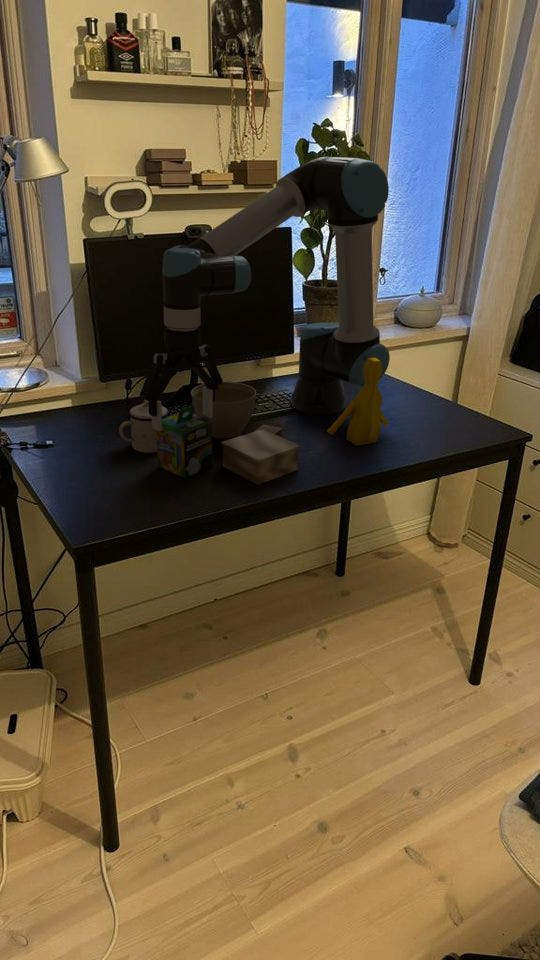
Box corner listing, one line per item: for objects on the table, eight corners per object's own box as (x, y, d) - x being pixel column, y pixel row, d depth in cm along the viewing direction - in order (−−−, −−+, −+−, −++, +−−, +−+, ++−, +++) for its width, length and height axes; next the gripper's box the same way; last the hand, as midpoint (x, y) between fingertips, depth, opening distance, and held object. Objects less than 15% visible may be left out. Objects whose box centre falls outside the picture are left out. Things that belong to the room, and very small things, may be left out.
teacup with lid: (159, 436, 181) (158, 391, 176) (175, 449, 174) (174, 403, 169) (113, 445, 175) (110, 399, 170) (128, 459, 168) (125, 411, 163)
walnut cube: (263, 443, 179) (263, 424, 177) (281, 447, 177) (282, 428, 175) (253, 450, 175) (254, 430, 173) (272, 454, 173) (273, 435, 171)
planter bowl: (238, 417, 194) (239, 378, 190) (266, 438, 182) (267, 397, 177) (182, 426, 187) (181, 385, 183) (207, 449, 175) (206, 406, 170)
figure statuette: (381, 431, 188) (390, 348, 179) (399, 442, 182) (409, 357, 172) (322, 441, 181) (328, 355, 171) (338, 453, 175) (345, 364, 165)
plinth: (262, 452, 174) (263, 429, 171) (299, 470, 165) (300, 445, 163) (221, 466, 166) (221, 441, 163) (257, 485, 158) (258, 460, 155)
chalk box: (185, 455, 171) (184, 395, 164) (213, 466, 166) (213, 405, 159) (156, 467, 164) (153, 405, 158) (184, 479, 159) (183, 416, 153)
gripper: (218, 315, 161) (216, 406, 170) (120, 330, 146) (124, 429, 155) (239, 322, 156) (237, 415, 165) (140, 339, 141) (144, 440, 150)
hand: (182, 422), depth 160 cm, fingers open, 13 cm apart
